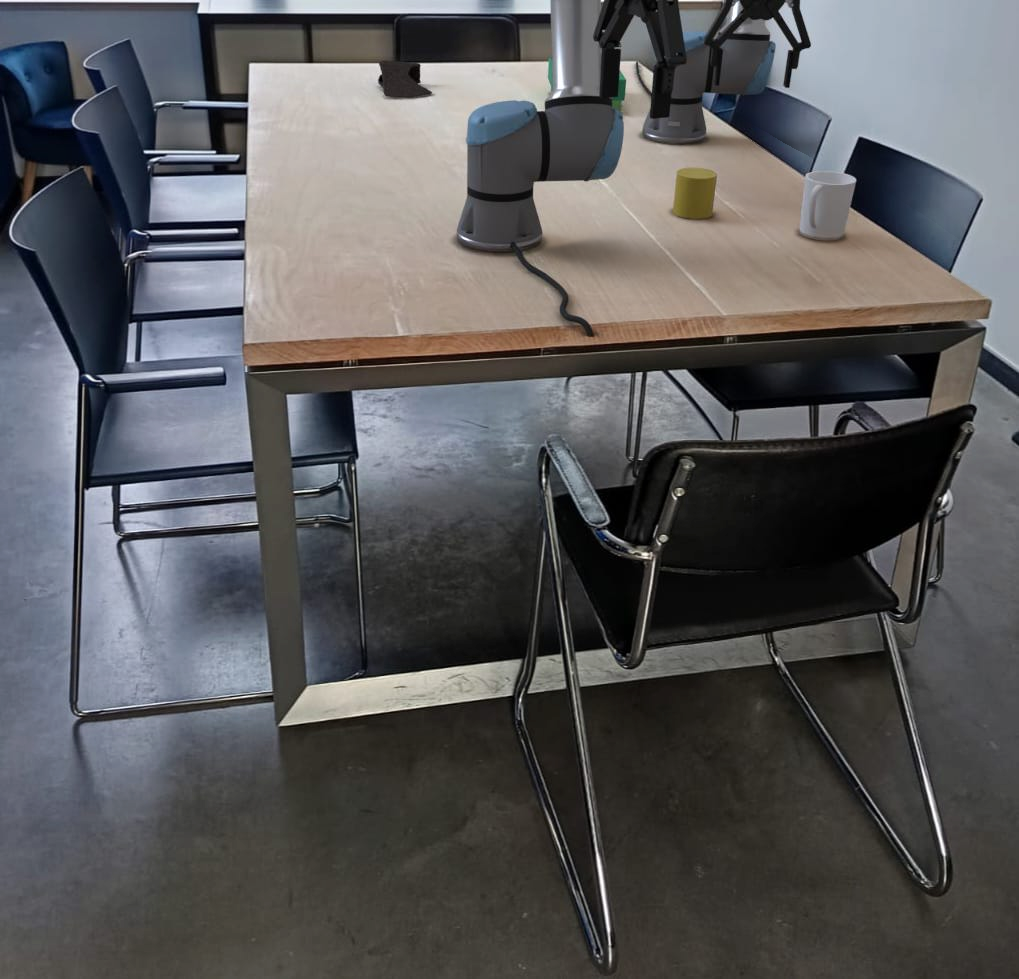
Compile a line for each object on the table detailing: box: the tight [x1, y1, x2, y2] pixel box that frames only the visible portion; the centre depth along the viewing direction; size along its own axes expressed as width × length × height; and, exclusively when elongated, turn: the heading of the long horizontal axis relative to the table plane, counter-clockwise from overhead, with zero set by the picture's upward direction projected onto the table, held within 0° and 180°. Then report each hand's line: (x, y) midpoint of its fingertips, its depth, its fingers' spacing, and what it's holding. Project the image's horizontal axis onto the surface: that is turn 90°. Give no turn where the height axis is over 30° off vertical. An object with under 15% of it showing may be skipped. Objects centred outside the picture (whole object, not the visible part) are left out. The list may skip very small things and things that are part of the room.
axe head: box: [377, 59, 433, 99], centre depth 299 cm, size 18×8×15 cm
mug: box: [798, 170, 857, 241], centre depth 199 cm, size 11×9×10 cm
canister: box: [672, 167, 718, 220], centre depth 210 cm, size 8×8×8 cm
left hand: (633, 107), depth 154 cm, fingers open, 13 cm apart
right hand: (751, 85), depth 214 cm, fingers open, 13 cm apart
